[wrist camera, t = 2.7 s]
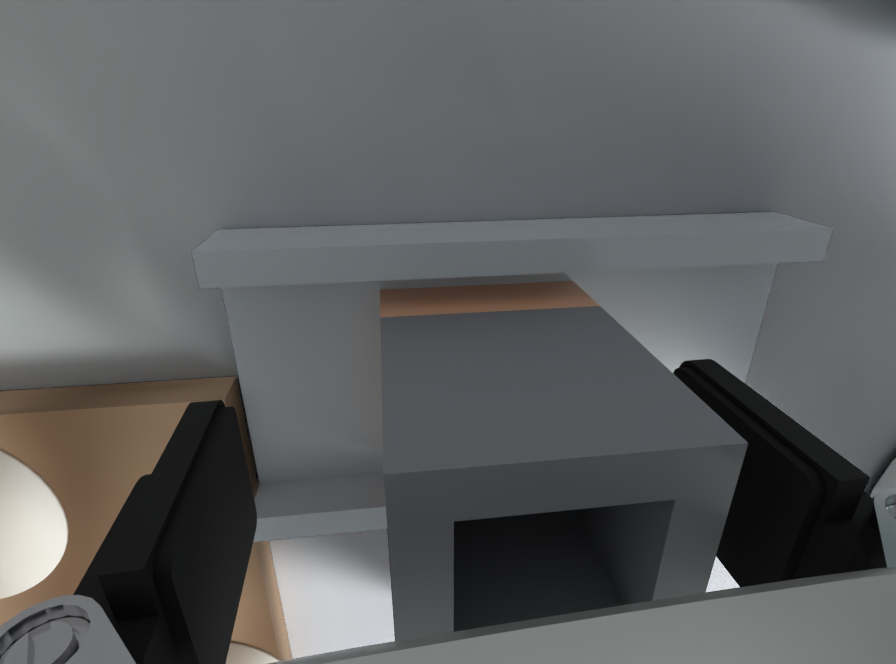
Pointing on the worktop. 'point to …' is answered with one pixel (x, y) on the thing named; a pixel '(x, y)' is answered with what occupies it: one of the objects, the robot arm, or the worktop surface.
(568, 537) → the sleeve
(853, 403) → the worktop surface
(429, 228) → the chute
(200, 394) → the pin board
